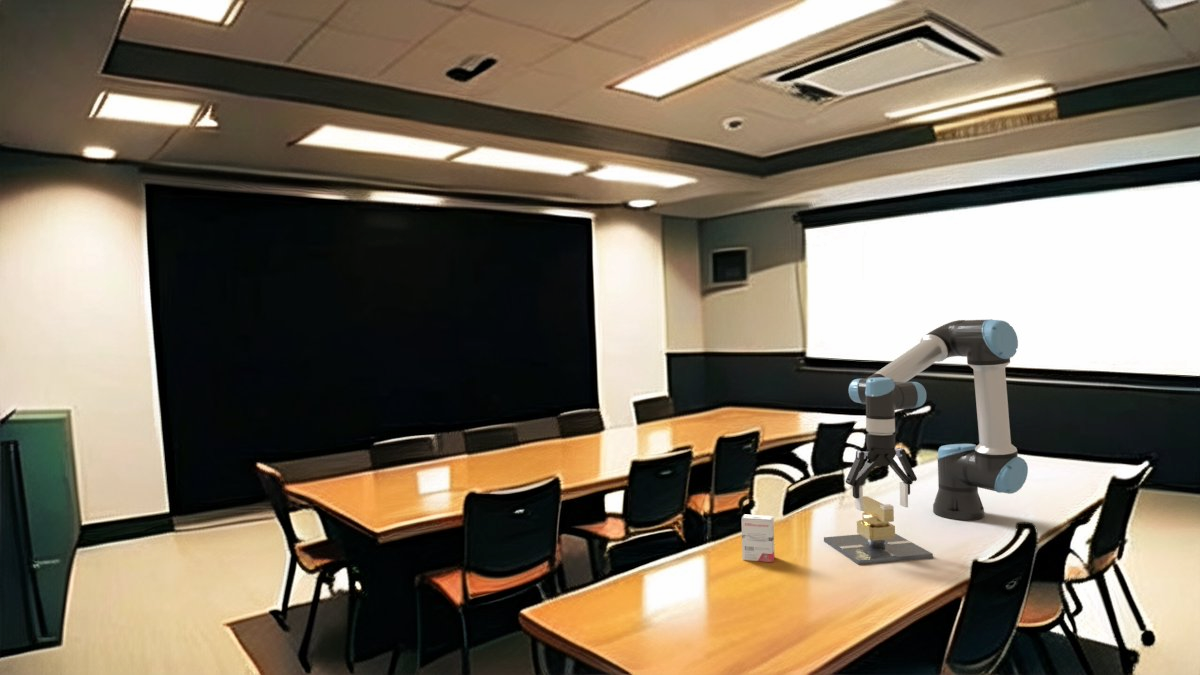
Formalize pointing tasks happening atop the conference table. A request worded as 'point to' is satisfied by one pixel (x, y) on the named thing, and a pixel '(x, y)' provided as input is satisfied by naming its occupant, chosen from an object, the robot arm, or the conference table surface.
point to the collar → (876, 520)
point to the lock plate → (877, 549)
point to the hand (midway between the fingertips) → (881, 507)
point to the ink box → (757, 538)
